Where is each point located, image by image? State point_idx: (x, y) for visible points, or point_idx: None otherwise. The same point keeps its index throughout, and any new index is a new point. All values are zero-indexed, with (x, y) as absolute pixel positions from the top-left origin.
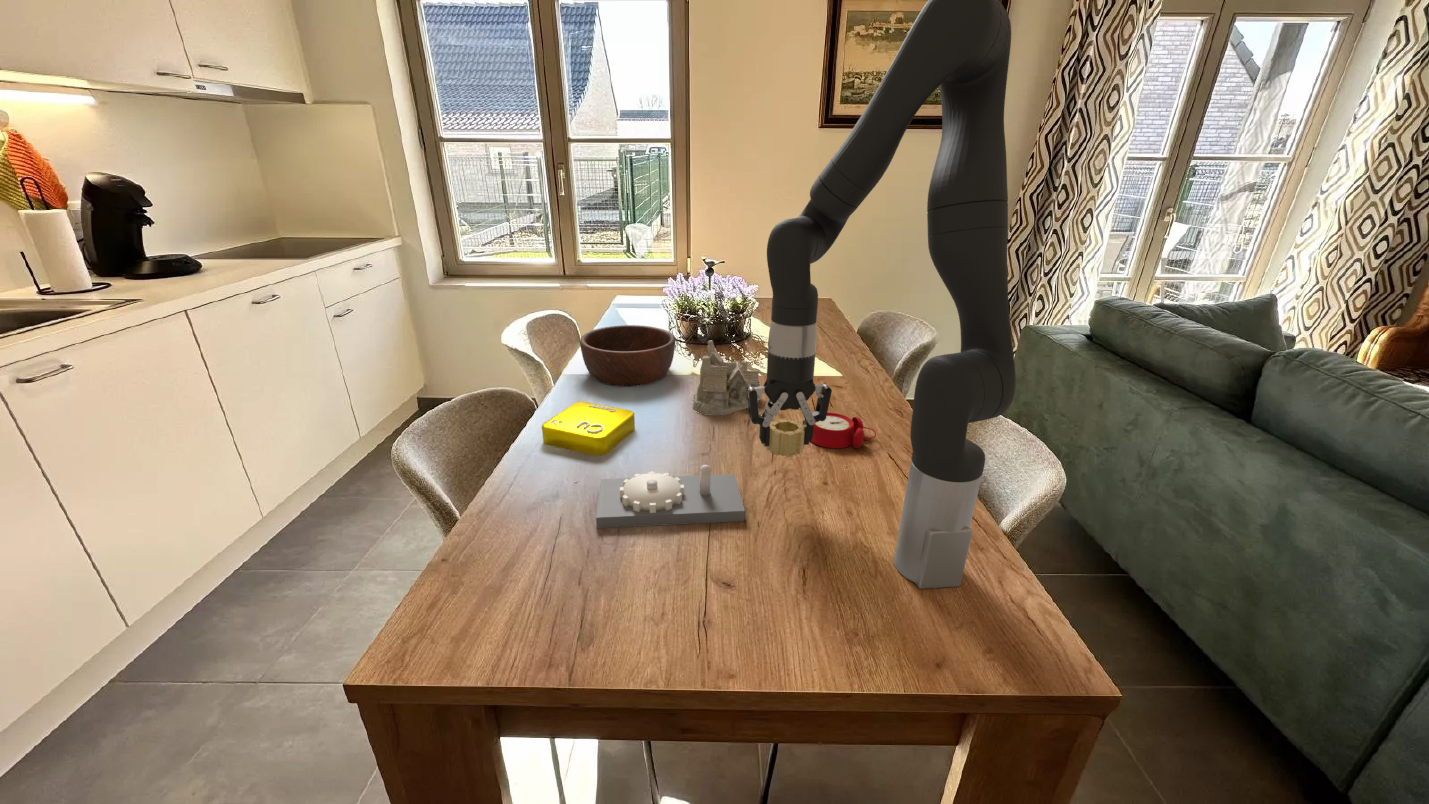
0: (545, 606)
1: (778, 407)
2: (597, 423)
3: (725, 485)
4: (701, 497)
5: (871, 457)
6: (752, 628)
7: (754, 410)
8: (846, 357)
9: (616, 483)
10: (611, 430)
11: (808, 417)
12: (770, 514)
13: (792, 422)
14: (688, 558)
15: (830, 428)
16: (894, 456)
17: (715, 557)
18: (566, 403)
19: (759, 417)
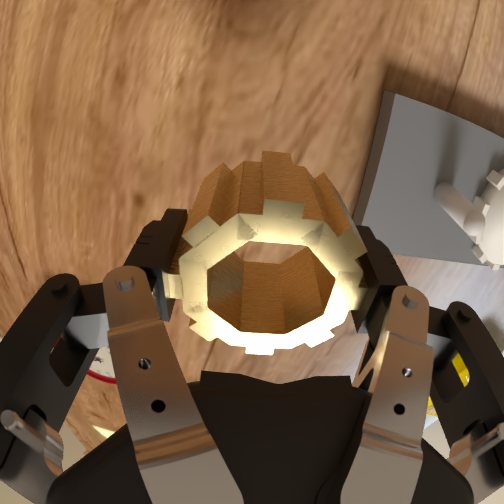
0: None
1: (394, 389)
2: (465, 383)
3: (393, 208)
4: (454, 177)
5: (47, 272)
6: None
7: (493, 362)
8: (90, 440)
9: None
10: (464, 372)
11: (138, 305)
12: (315, 96)
13: (220, 325)
14: (498, 36)
15: (101, 348)
16: (17, 267)
17: (463, 13)
18: (433, 416)
19: (443, 335)
